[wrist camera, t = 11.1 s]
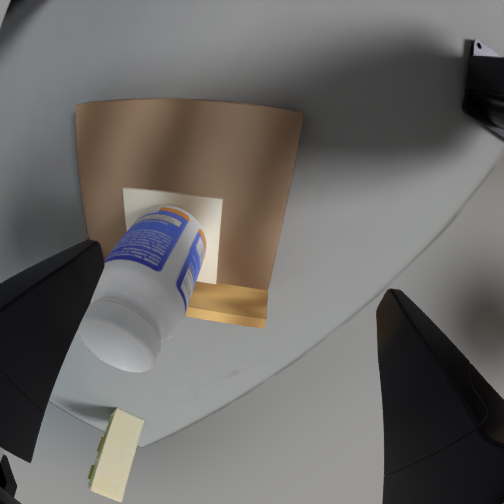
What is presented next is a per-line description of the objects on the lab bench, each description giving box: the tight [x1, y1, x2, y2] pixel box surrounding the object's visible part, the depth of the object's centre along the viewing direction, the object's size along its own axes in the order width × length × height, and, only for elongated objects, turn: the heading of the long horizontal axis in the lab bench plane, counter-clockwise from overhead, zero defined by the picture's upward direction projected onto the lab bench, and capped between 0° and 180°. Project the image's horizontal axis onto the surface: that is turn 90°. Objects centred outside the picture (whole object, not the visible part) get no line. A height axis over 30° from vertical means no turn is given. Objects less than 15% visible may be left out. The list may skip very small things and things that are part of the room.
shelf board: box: [76, 98, 304, 328], centre depth 17 cm, size 15×14×4 cm
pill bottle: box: [79, 205, 207, 372], centre depth 15 cm, size 5×5×10 cm
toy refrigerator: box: [88, 408, 144, 502], centre depth 39 cm, size 8×7×21 cm
